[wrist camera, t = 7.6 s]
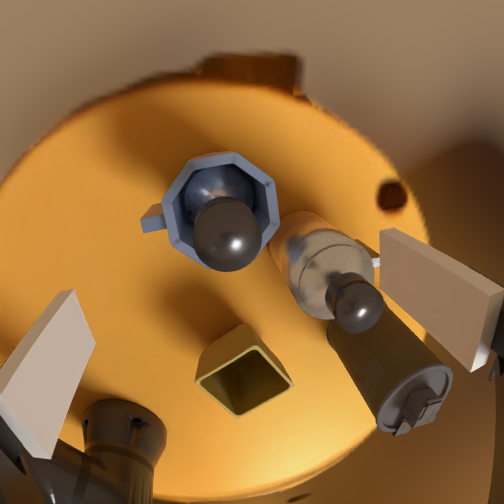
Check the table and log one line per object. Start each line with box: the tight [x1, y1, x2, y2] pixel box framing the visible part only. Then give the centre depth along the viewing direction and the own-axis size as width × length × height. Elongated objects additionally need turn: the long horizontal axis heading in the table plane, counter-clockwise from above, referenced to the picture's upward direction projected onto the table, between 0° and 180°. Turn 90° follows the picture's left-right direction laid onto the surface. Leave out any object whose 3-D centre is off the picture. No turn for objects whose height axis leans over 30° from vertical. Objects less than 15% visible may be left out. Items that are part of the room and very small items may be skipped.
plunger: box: [185, 165, 262, 272], centre depth 25 cm, size 7×7×14 cm
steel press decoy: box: [269, 210, 384, 333], centre depth 32 cm, size 10×8×18 cm
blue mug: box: [140, 151, 280, 269], centre depth 31 cm, size 11×9×12 cm
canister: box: [327, 302, 453, 436], centre depth 36 cm, size 11×10×20 cm
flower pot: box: [195, 324, 294, 418], centre depth 39 cm, size 9×9×9 cm
